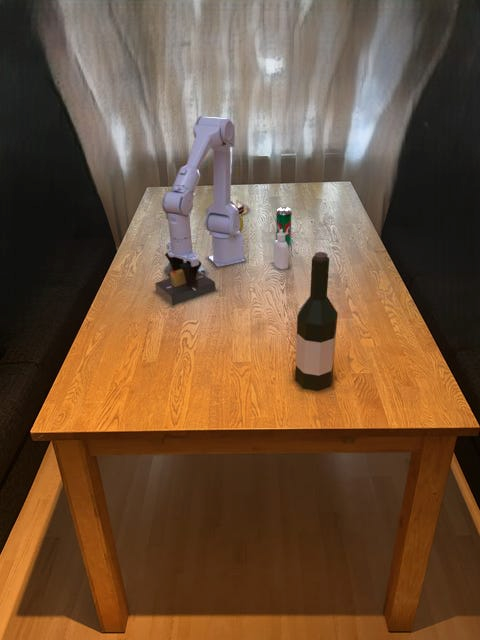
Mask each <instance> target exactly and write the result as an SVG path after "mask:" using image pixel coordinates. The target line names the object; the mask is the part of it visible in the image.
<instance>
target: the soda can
mask: <svg viewBox="0 0 480 640" xmlns="http://www.w3.org/2000/svg"><path fill="white" fill-rule="evenodd" d="M292 213H293V212H292V211H291V207H286V206H281V207H278V208H277V210H276V212H275V241H276V240H277V234H278V233H280V230H281V229H282V230H283V233H285V241H286V242H287V244H288V246H289V245H290V244H291V243H292V219H293V216H292V215H293V214H292Z"/></svg>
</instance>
